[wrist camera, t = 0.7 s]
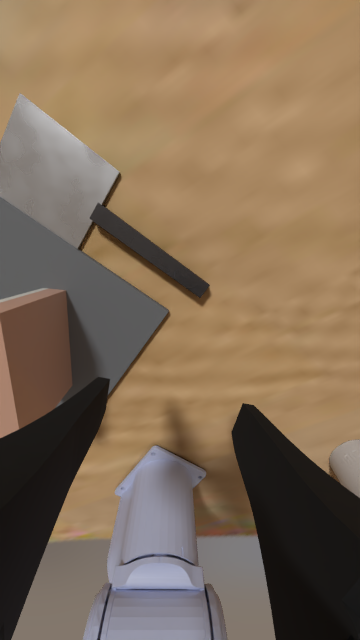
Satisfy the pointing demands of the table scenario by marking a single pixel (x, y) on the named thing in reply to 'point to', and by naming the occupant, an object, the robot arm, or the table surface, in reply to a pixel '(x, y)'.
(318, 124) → the table surface
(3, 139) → the turner
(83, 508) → the table surface
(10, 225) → the mat
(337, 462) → the dixie cup
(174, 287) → the table surface
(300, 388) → the table surface
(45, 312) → the tile
